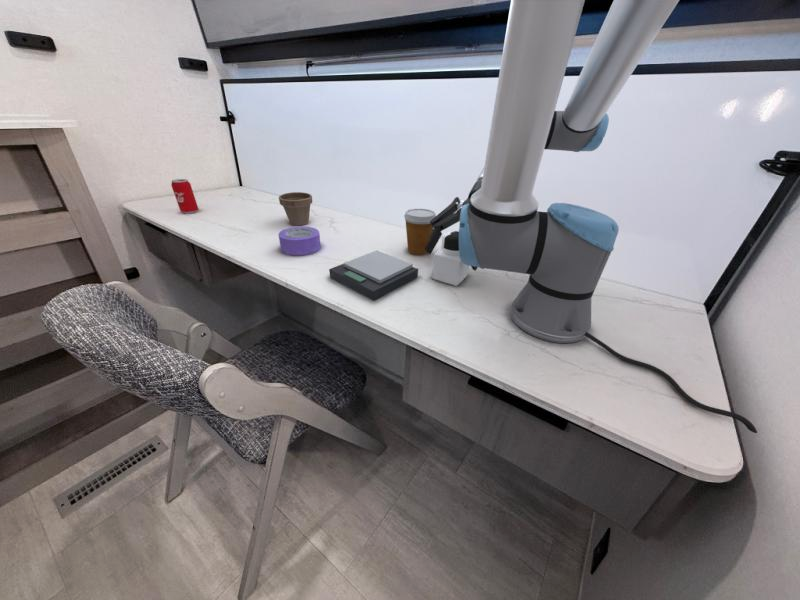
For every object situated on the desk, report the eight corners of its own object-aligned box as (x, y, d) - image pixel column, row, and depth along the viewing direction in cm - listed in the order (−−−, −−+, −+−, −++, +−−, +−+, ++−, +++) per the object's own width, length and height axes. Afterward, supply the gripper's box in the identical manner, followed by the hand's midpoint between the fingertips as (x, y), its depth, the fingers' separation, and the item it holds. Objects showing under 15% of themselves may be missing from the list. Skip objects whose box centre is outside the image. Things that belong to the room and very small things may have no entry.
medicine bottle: (467, 276, 81) (474, 232, 75) (456, 286, 76) (463, 241, 70) (443, 269, 84) (448, 226, 78) (431, 278, 79) (435, 234, 73)
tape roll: (327, 243, 97) (326, 228, 95) (308, 258, 88) (306, 241, 85) (294, 239, 100) (292, 224, 97) (273, 252, 90) (269, 236, 88)
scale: (417, 277, 79) (418, 265, 78) (373, 300, 69) (373, 287, 67) (374, 259, 88) (374, 248, 86) (329, 277, 78) (328, 265, 76)
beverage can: (183, 210, 124) (172, 178, 117) (200, 209, 125) (190, 178, 119) (179, 214, 119) (167, 182, 112) (197, 213, 120) (186, 181, 114)
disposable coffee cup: (431, 258, 90) (435, 218, 83) (400, 255, 91) (401, 215, 85) (434, 247, 98) (438, 209, 91) (405, 244, 99) (407, 206, 93)
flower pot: (307, 229, 108) (303, 200, 103) (277, 227, 110) (272, 198, 104) (319, 220, 118) (316, 193, 113) (292, 217, 119) (288, 191, 114)
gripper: (538, 206, 74) (497, 281, 72) (452, 189, 88) (416, 252, 86) (535, 187, 68) (491, 268, 66) (443, 172, 82) (405, 239, 80)
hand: (449, 259), depth 76 cm, fingers open, 13 cm apart
